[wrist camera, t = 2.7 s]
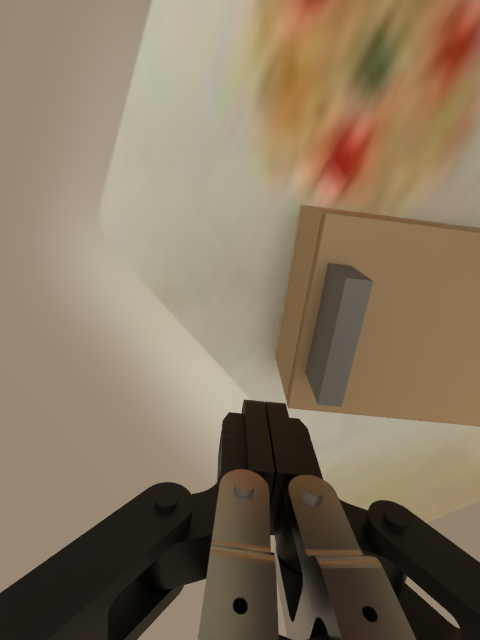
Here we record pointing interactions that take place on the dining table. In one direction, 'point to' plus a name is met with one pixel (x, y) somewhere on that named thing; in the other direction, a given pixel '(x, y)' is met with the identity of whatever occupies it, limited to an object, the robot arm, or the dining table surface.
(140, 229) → the dining table surface
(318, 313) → the lid
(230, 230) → the dining table surface
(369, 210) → the dining table surface
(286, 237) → the dining table surface
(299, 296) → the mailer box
